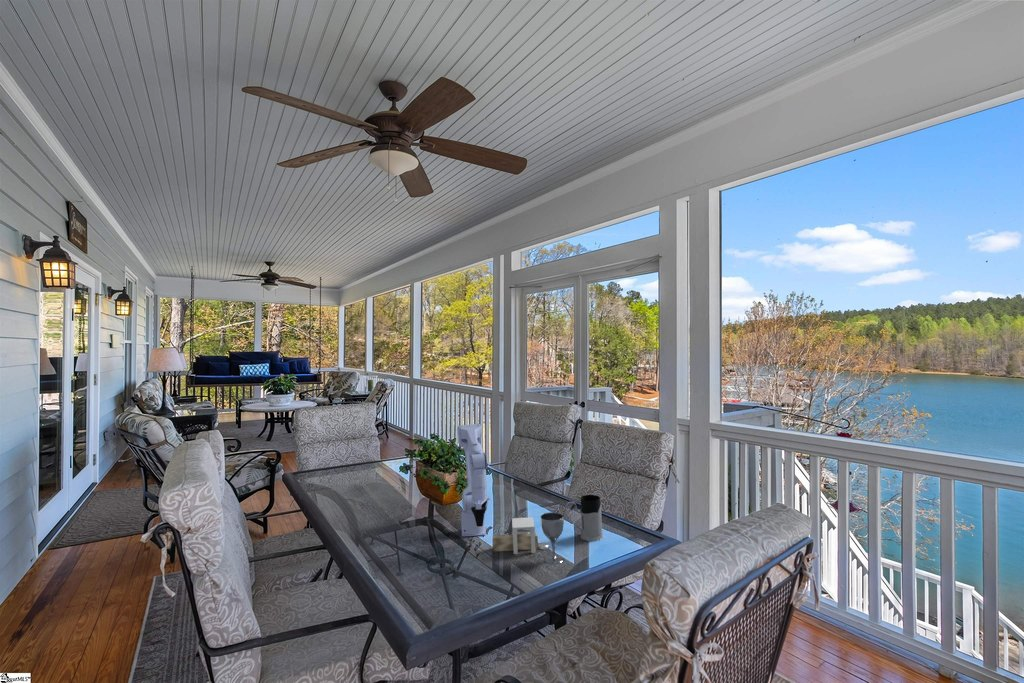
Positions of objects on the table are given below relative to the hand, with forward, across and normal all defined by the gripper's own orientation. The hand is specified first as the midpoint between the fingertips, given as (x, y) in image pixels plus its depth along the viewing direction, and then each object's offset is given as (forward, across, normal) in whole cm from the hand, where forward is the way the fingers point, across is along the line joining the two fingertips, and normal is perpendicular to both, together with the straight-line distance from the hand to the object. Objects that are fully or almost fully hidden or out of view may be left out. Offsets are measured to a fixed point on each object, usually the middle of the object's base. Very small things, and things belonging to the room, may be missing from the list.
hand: (480, 522), depth 175 cm
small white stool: (+9, -2, -16) cm, 19 cm away
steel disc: (+10, -2, -23) cm, 25 cm away
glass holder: (+10, +5, -40) cm, 41 cm away
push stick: (+10, -2, -13) cm, 16 cm away
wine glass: (+10, -13, -26) cm, 31 cm away
